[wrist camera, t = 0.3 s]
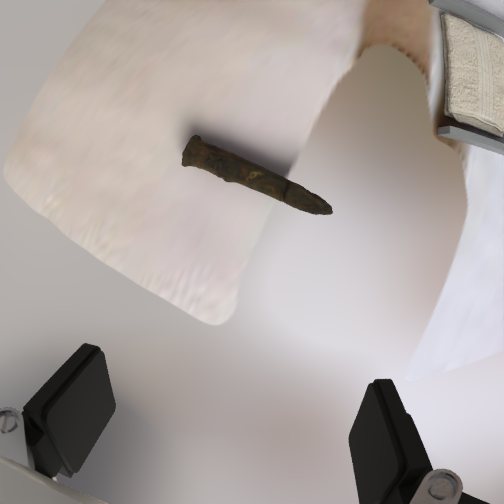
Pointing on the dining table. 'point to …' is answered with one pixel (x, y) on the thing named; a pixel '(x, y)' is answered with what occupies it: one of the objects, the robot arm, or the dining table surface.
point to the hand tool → (251, 176)
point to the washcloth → (473, 75)
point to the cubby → (455, 5)
